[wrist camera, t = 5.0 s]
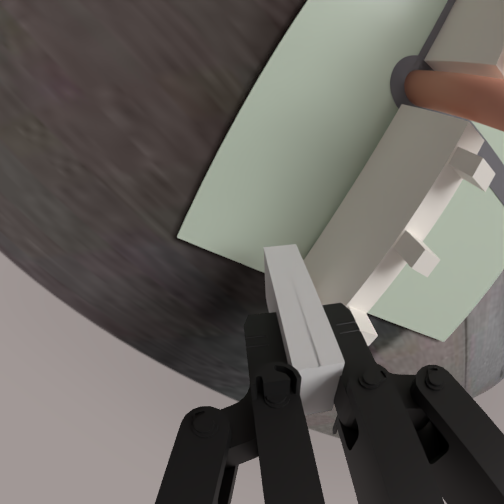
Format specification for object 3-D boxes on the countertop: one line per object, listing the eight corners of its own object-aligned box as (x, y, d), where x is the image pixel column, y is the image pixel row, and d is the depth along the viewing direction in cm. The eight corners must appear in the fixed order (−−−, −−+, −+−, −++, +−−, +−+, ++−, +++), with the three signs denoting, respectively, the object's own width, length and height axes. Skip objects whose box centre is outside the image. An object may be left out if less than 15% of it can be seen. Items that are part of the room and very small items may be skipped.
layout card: (177, 233, 16) (176, 238, 15) (380, -95, 6) (384, -97, 6) (441, 338, 23) (444, 342, 23) (568, 138, 14) (571, 140, 13)
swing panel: (397, 100, 12) (490, 124, 7) (421, 121, 13) (512, 155, 7) (283, 281, 17) (308, 374, 12) (309, 291, 18) (341, 380, 12)
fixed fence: (393, 90, 13) (514, 117, 6) (462, -35, 8) (557, -48, 1) (419, 112, 13) (535, 154, 6) (482, -12, 8) (577, -15, 2)
